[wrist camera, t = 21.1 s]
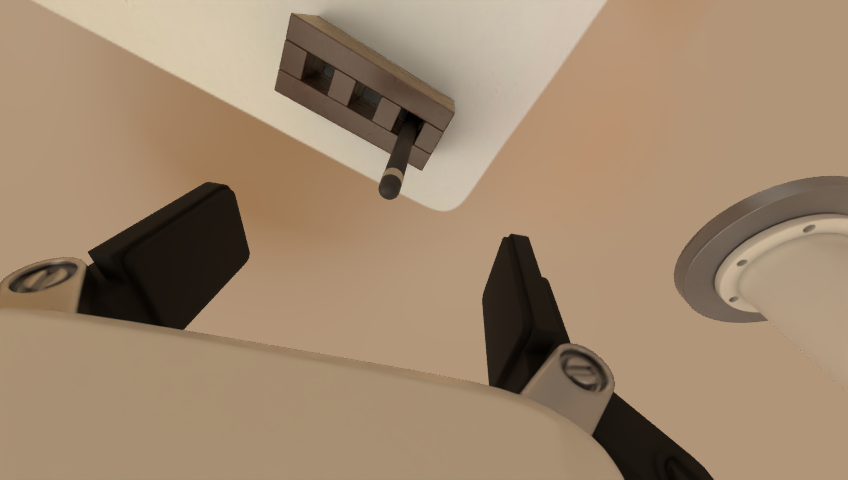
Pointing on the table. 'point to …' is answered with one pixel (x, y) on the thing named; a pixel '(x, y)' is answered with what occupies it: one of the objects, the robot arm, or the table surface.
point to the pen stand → (358, 87)
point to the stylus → (399, 158)
